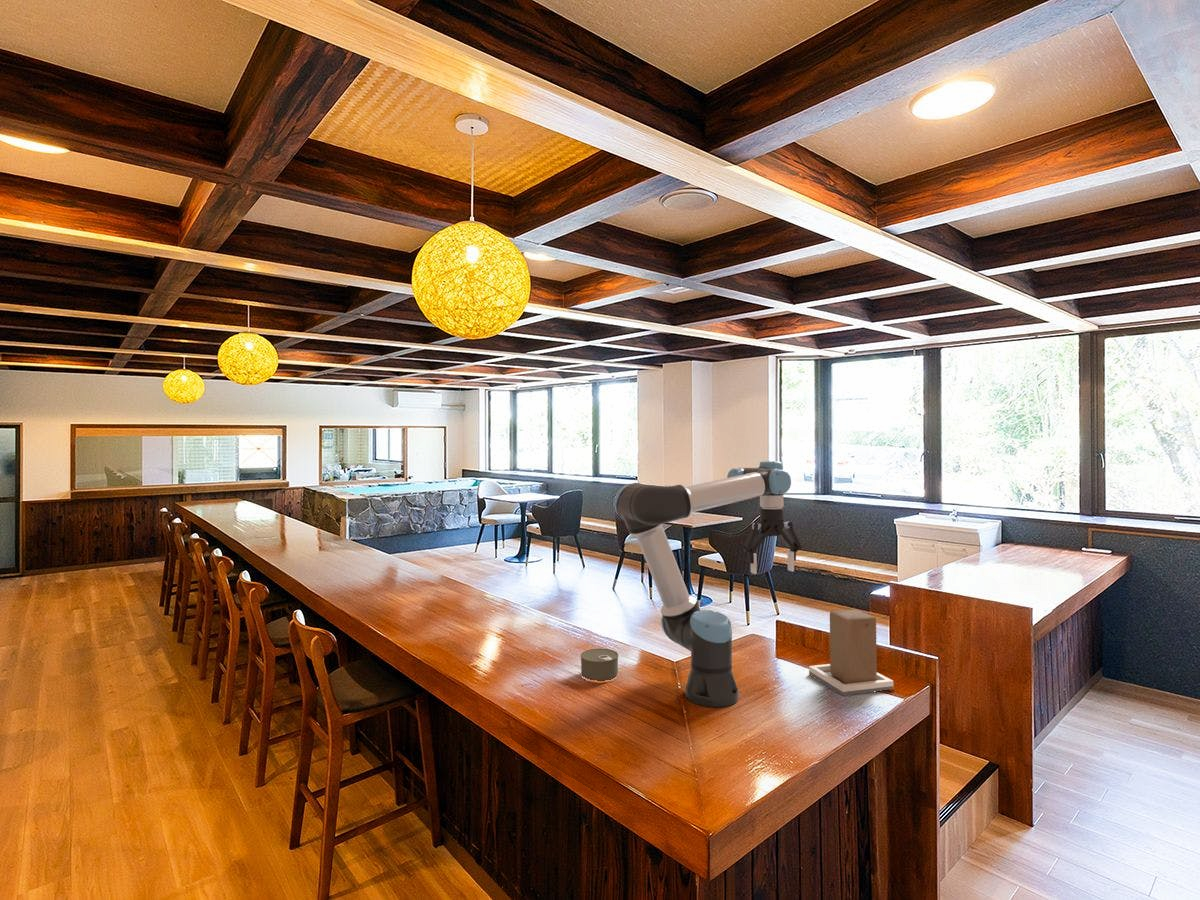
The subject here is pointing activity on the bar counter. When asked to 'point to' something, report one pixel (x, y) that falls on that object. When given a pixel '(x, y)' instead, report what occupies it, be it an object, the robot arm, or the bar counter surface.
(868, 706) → the bar counter surface
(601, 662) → the can
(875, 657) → the wooden block
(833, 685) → the locating plate
